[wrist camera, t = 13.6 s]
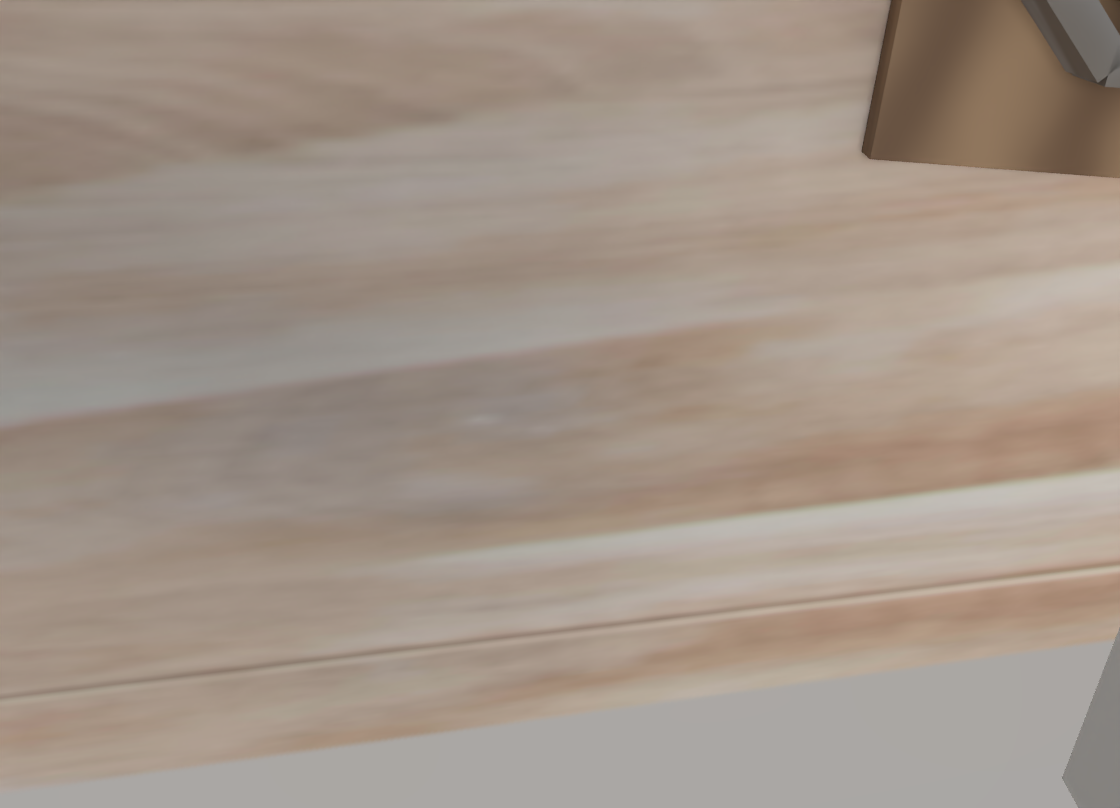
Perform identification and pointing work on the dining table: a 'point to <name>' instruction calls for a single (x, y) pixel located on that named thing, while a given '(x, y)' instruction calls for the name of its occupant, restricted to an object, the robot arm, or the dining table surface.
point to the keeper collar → (1000, 86)
